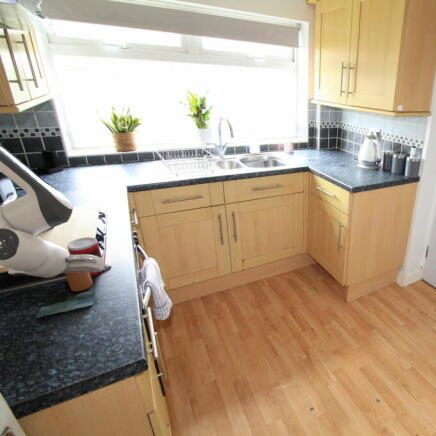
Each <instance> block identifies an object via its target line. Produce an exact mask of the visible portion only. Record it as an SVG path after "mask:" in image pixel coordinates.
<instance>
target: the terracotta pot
mask: <svg viewBox="0 0 436 436" xmlns="http://www.w3.org/2000/svg"><path fill="white" fill-rule="evenodd" d="M64 275H65V278H66V280H67V283H68V286H69V288H70V290H71V291H72V292H81V291H85V290H87V289H89V288H90V287H92V286H93V284H94V282H93V278H92V277H91V275H90V272H80V273H64Z"/></svg>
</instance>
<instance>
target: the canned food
mask: <svg viewBox="0 0 436 436" xmlns="http://www.w3.org/2000/svg"><path fill="white" fill-rule="evenodd" d="M66 247H67V250H68V251H67V252H68V254H69V255H83V254H87V255H94V256H97V257H100V258H103V255H102V251H101V249H100V245H99V243H98V240H97V238H95V237H91V236H90V237H89V236H88V237H81V238H76V239H74V240H71V241H70V242H69V243H67V245H66ZM105 267H106V266H104V269H103V270H102V271H97V272H93V273H91V272H90V275H91V278H92V277H95V276H97V275H100V274H102V273H103V272H104V270H105Z"/></svg>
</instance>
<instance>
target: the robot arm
mask: <svg viewBox="0 0 436 436" xmlns="http://www.w3.org/2000/svg"><path fill="white" fill-rule="evenodd" d="M0 172H1V173H2V174H3V175H5V177H7V178H9V180H11V181H12V182H13V183H14V184H16V185H17V186H18V187H19V188H21V189H22V190H23V191H25V195H23V196H20V197H19V198H16V199H13V200H12V201H9V202H7V203H5V204H2V205H0V266H1V267H4V268H7V269H8V272H7V273H8V274H9V275H11V276H32V277H40V278H46V279H47V278H54V277H56V276H58V275H64V274H65V273H80V272H91V273H93V272H97V271H102V270H103V269H104V270H105V267H106V266H105V265H106V260H105V259H104V258H103V257H102V258H100V257H97V256H94V255H87V254H83V255H70V253H69V251H67V250H68V249H66V248H65V247H62V246H60V245H58V244H56V243H53V242H51V241H47V240H44V239H42V238H41V237H40V236H37V235H39V234H41V233H43V232H45V231H48V230H49V229H52V228H55V227H58V226H60V225H63V224H65V223H68V222H69V220H71V219H70V218H71V216H72V214H73V210H74V207H73V204H72V203H71V201H70V200H69V198H68V197H66V196H65V194H63V193H62V192H60V191H59V190H58V189H57V188H55V187H53V186H52V185H51V184H49V183H48V182H47V181H45V180H44V179H43V178H42V177H41V176H39V174H37V173H36V172H35V171H33V170H32V169H31V168H30V167H29V166H27V165H26V164H25V163H24V162H23V161H21V160H20V158H17V156H16V155H14V154H13V153H12V152H10V151H9V150H8V149H7V148H5V146H3V145H2V144H0ZM104 266H105V267H104ZM104 270H103V271H104Z"/></svg>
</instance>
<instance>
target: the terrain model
mask: <svg viewBox="0 0 436 436" xmlns="http://www.w3.org/2000/svg"><path fill="white" fill-rule="evenodd" d="M96 291H97V290H96V289H94V290H90V291H84V292H80V293H79V294H77V295H74V296H73V297H71V298H70V299H68V300H66V301H62V302H57V303H54V304H51V305H45V306H41V307H40V308H39V310H38V312H37V315H36V317H35V319H39V318H41V317H44V316H51V315H55V314H57V313H65V312H68V311H69V312H70V311H71V310H76V309H82V308H86V307H89V306H92V305H94V302H95V296H96Z"/></svg>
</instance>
